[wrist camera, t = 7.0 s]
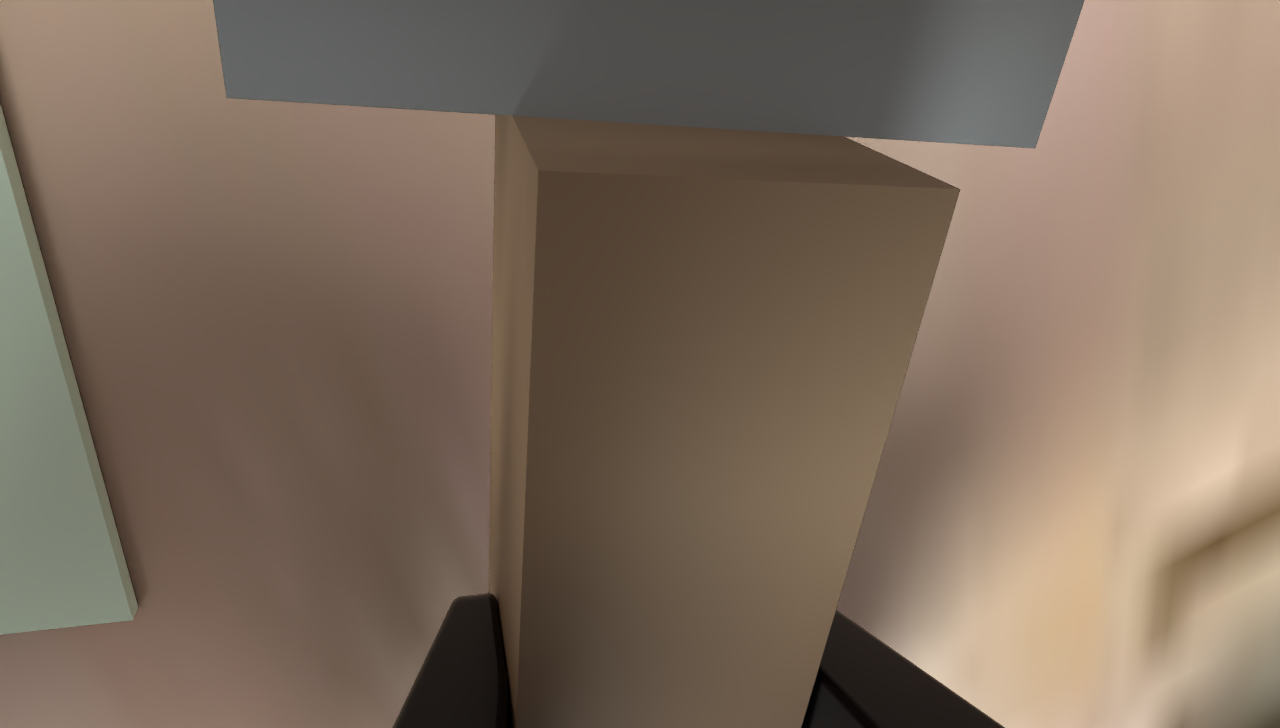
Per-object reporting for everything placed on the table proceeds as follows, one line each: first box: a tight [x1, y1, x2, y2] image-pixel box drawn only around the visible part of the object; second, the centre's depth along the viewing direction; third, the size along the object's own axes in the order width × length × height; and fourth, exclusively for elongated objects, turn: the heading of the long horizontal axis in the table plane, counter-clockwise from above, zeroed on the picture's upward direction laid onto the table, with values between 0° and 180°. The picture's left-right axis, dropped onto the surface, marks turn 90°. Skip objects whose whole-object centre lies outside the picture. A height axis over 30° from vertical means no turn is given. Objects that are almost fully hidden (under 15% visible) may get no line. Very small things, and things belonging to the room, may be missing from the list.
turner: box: [213, 0, 1084, 728], centre depth 7 cm, size 15×6×3 cm, turn 174°
